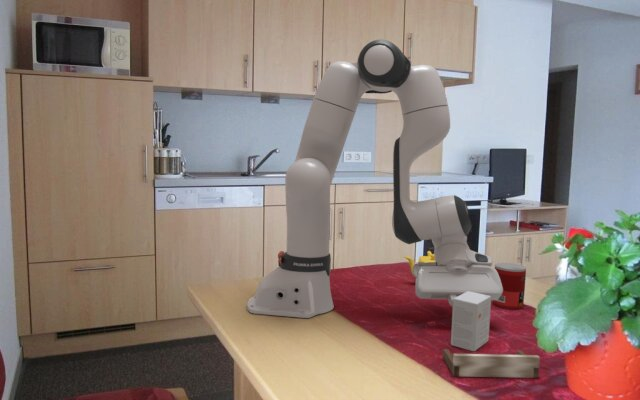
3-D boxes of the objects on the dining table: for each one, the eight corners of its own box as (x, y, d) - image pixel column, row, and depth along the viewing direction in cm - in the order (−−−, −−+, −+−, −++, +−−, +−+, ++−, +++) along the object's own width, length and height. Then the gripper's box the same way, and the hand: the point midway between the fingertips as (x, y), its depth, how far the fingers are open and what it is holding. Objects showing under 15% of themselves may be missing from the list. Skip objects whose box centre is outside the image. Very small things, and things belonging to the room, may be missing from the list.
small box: (465, 335, 119) (467, 290, 117) (489, 341, 115) (492, 295, 114) (449, 345, 112) (452, 298, 111) (474, 352, 109) (477, 303, 108)
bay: (453, 376, 97) (454, 355, 97) (443, 358, 105) (444, 339, 105) (538, 377, 97) (539, 357, 97) (521, 360, 105) (522, 341, 105)
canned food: (525, 311, 137) (528, 270, 136) (494, 308, 139) (496, 268, 138) (520, 302, 145) (523, 263, 144) (490, 300, 146) (493, 261, 145)
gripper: (414, 255, 125) (420, 307, 117) (498, 257, 126) (510, 309, 117) (409, 268, 130) (415, 319, 121) (490, 270, 131) (502, 321, 122)
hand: (463, 314), depth 119 cm, fingers closed
